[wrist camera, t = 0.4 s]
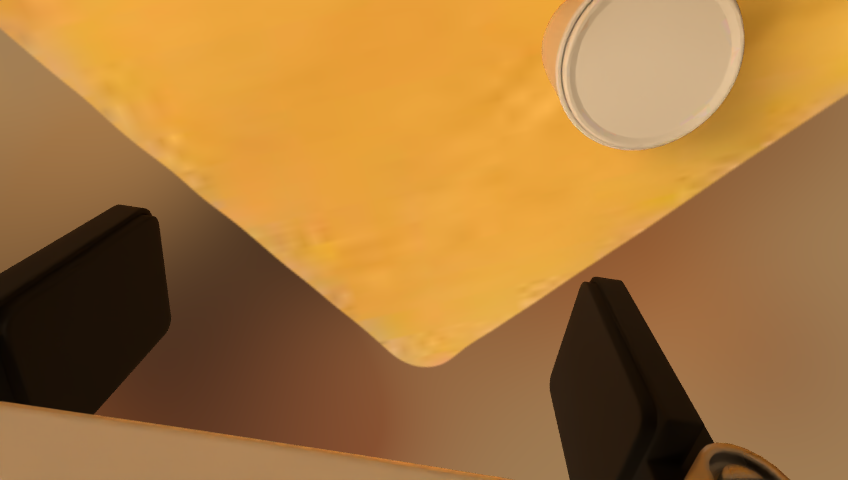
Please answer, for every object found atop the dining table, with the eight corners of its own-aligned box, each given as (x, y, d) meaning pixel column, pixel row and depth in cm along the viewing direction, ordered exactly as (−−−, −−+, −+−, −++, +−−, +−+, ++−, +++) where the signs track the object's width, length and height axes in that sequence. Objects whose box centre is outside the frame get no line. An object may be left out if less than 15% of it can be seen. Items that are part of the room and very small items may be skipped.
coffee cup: (632, 121, 37) (700, 169, 27) (514, 96, 37) (536, 135, 26) (683, -13, 33) (789, -19, 22) (552, -41, 33) (595, -61, 22)
